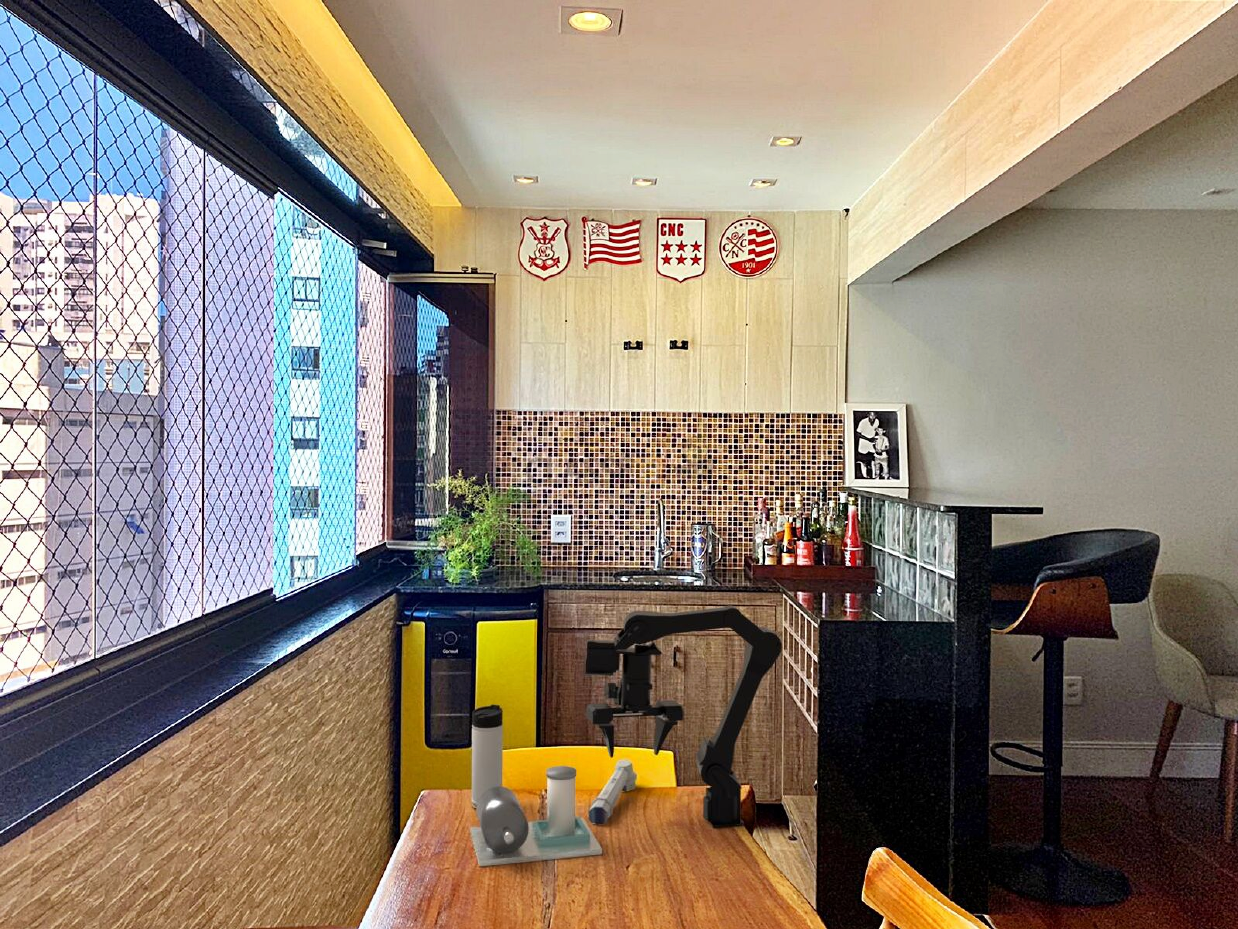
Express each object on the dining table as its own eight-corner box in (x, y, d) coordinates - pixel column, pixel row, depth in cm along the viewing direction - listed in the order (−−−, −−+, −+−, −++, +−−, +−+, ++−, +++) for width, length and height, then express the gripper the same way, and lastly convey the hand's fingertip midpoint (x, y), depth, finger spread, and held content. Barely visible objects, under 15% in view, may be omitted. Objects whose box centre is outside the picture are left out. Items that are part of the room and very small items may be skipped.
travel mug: (508, 802, 197) (509, 706, 197) (491, 813, 191) (492, 713, 191) (483, 798, 200) (483, 703, 200) (465, 808, 194) (466, 710, 194)
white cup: (579, 831, 179) (580, 767, 179) (569, 842, 174) (570, 777, 174) (552, 828, 181) (552, 764, 181) (541, 839, 175) (541, 773, 175)
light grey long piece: (584, 805, 186) (615, 751, 210) (585, 837, 186) (616, 780, 210) (610, 807, 184) (638, 753, 208) (611, 840, 185) (639, 782, 209)
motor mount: (582, 822, 186) (583, 776, 186) (604, 858, 169) (604, 808, 169) (469, 832, 181) (470, 785, 181) (480, 871, 163) (480, 819, 163)
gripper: (667, 666, 197) (664, 742, 197) (580, 669, 192) (577, 746, 192) (686, 678, 187) (683, 758, 186) (594, 681, 181) (592, 763, 181)
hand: (633, 755), depth 187 cm, fingers open, 9 cm apart
